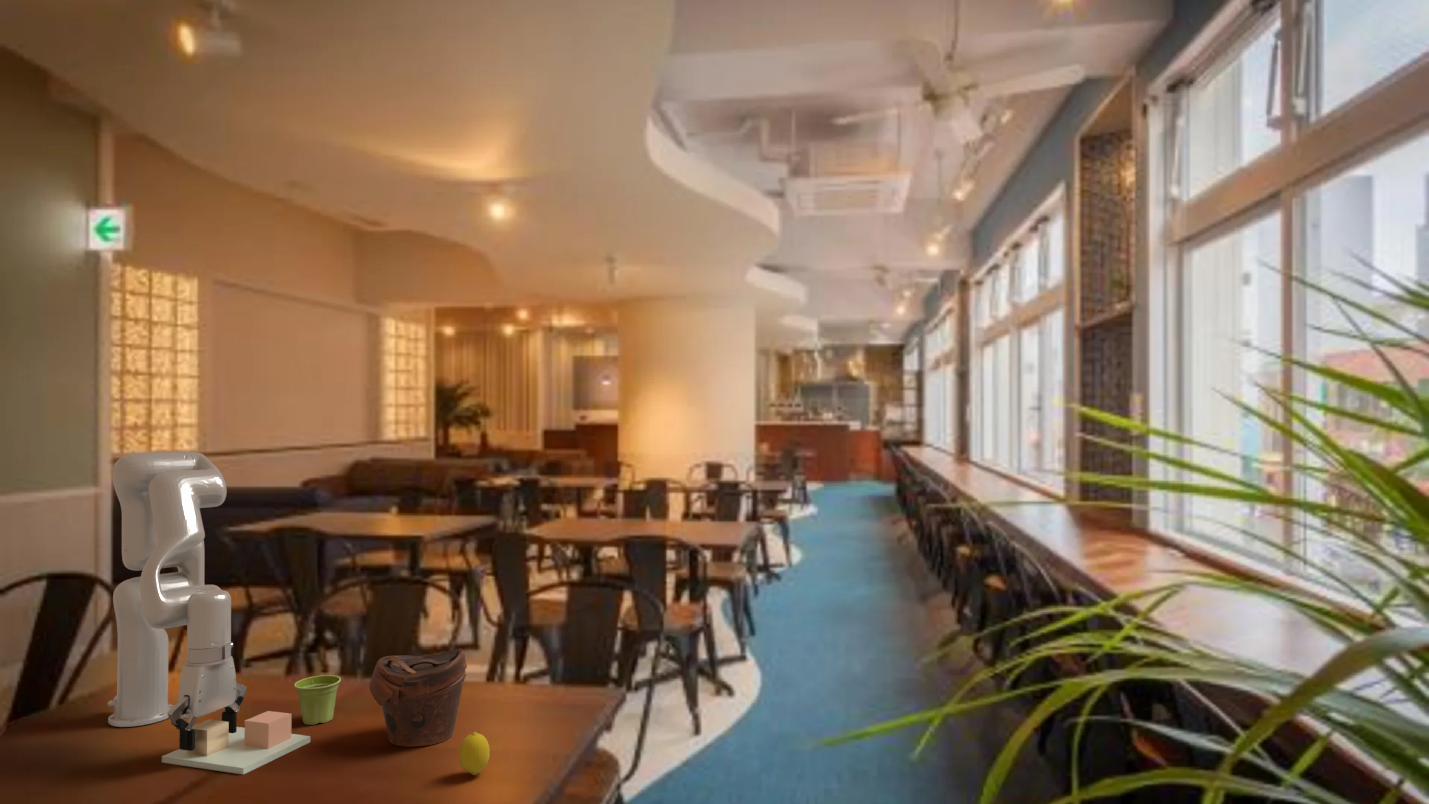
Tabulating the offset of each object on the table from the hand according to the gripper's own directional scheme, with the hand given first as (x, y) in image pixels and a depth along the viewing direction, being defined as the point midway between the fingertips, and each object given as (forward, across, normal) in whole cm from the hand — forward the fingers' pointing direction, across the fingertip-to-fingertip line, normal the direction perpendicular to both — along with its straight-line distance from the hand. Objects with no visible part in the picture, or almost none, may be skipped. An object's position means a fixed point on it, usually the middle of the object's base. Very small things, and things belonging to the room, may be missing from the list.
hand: (208, 740), depth 170 cm
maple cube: (+2, 0, 0) cm, 2 cm away
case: (+4, -21, +34) cm, 40 cm away
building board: (+3, -4, +4) cm, 6 cm away
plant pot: (+3, -23, +6) cm, 24 cm away
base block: (+2, -7, +8) cm, 11 cm away
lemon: (+4, -7, +56) cm, 56 cm away
